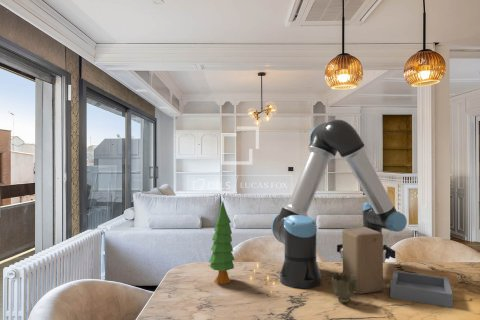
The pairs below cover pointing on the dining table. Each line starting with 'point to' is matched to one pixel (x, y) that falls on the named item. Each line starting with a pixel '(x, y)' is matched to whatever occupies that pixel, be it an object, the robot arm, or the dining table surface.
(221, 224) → the decorative tree
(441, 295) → the gray square tray
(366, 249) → the wooden block
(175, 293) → the dining table surface
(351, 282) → the cup
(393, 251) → the robot arm
